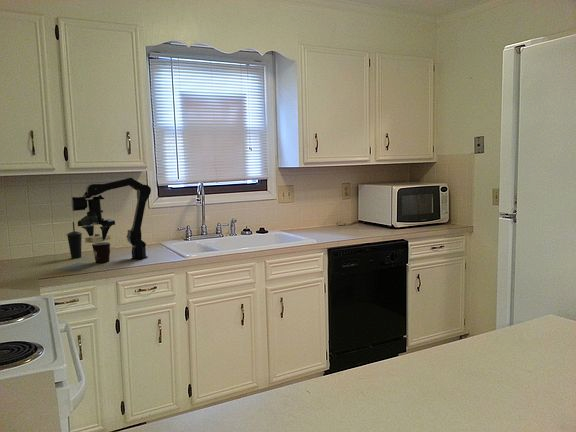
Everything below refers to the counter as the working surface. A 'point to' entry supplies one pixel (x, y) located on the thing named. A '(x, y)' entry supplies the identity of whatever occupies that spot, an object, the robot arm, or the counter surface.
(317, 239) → the counter surface
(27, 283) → the counter surface
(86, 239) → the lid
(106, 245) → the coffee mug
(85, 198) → the robot arm
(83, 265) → the mat
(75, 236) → the drinking cup
